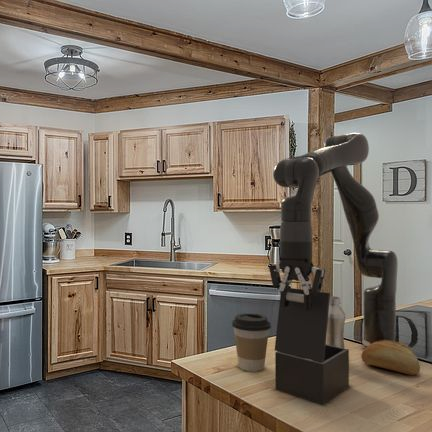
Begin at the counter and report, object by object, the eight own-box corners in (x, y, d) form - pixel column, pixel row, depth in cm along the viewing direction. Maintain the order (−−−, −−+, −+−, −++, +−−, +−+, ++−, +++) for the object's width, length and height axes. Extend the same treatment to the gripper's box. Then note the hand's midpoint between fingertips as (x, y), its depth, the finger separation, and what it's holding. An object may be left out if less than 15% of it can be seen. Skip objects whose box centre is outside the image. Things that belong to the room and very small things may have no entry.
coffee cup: (278, 366, 128) (277, 316, 128) (259, 377, 120) (259, 324, 120) (244, 357, 136) (243, 310, 136) (224, 367, 127) (224, 317, 127)
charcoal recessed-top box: (303, 373, 123) (303, 339, 123) (348, 386, 114) (348, 349, 113) (275, 389, 112) (275, 352, 112) (323, 405, 103) (323, 364, 103)
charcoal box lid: (282, 287, 114) (273, 285, 111) (330, 293, 105) (321, 291, 102) (275, 350, 112) (265, 350, 109) (324, 362, 103) (314, 362, 99)
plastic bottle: (348, 367, 127) (348, 300, 127) (324, 366, 128) (324, 299, 128) (343, 360, 133) (342, 295, 133) (319, 358, 134) (319, 295, 134)
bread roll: (365, 359, 134) (365, 333, 134) (422, 370, 124) (422, 342, 124) (358, 367, 126) (358, 340, 126) (417, 380, 117) (417, 351, 117)
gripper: (331, 239, 104) (331, 310, 104) (277, 237, 114) (277, 301, 114) (317, 241, 98) (317, 315, 99) (262, 238, 109) (262, 305, 109)
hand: (296, 307), depth 106 cm, fingers closed on charcoal box lid, 5 cm apart
